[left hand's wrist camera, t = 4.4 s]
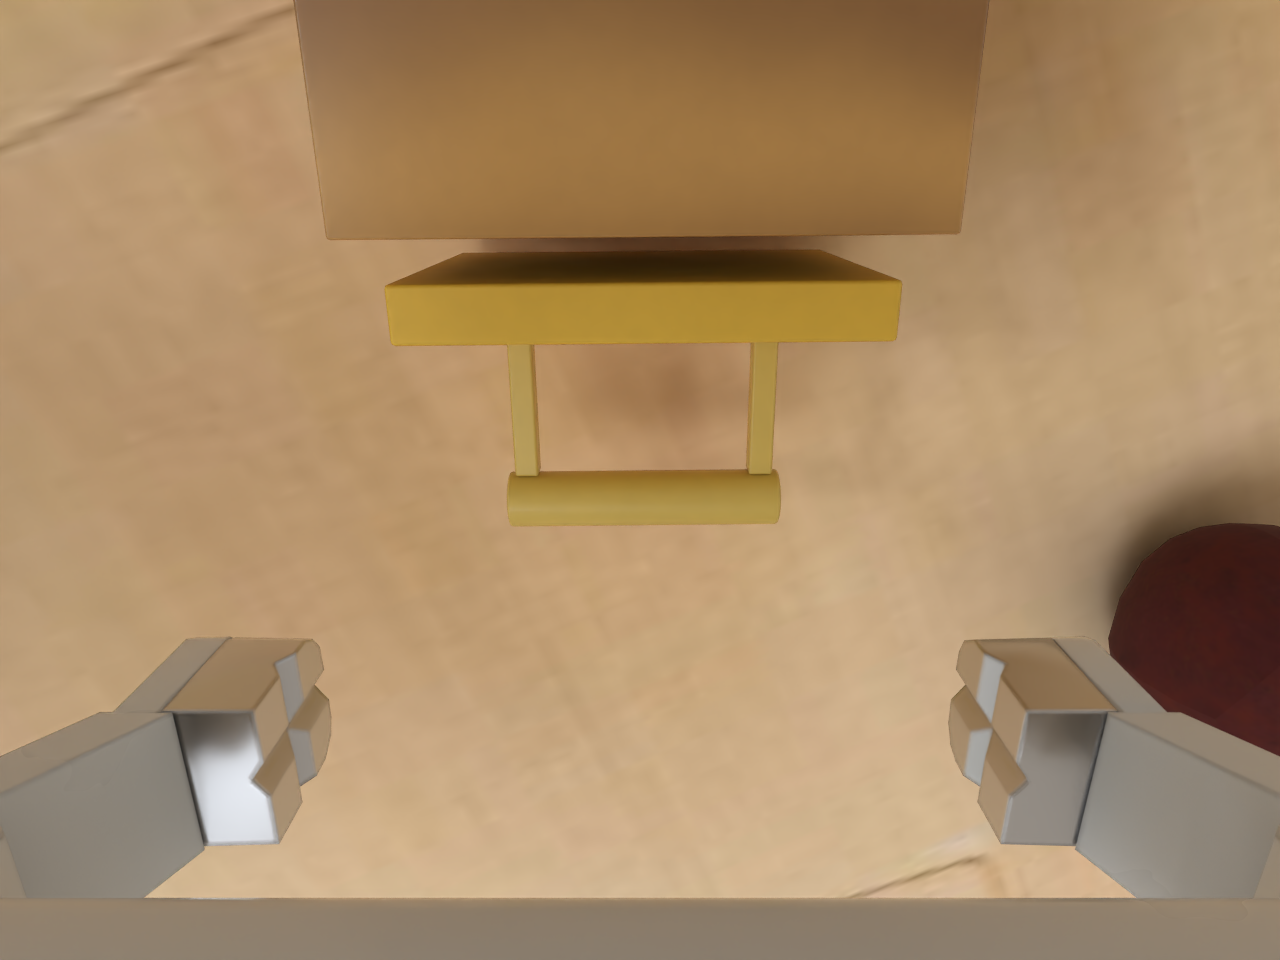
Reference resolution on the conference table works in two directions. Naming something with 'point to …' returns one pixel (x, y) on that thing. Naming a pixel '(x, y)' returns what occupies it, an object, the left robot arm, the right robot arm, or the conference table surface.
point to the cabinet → (640, 116)
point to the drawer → (643, 314)
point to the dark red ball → (1208, 629)
